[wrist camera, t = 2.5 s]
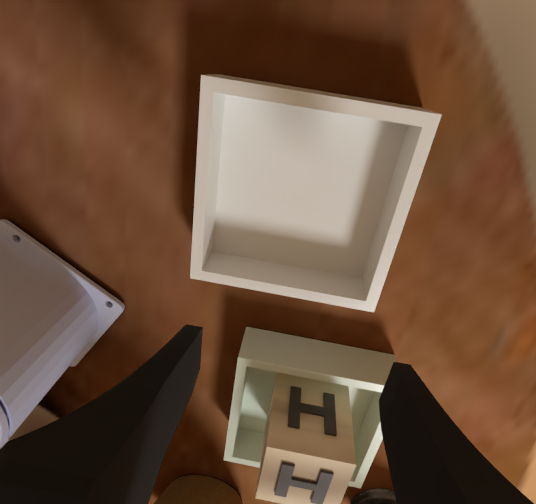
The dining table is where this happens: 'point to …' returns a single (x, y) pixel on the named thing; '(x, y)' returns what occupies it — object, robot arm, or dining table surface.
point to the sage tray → (313, 367)
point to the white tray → (303, 188)
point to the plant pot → (198, 491)
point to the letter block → (307, 443)
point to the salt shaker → (375, 497)
